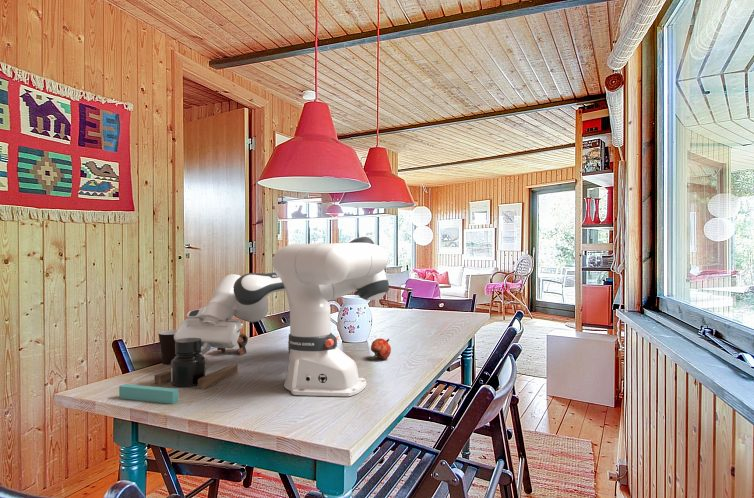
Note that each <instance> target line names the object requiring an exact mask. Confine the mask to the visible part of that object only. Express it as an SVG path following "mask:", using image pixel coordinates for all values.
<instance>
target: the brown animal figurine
mask: <svg viewBox="0 0 754 498" xmlns="http://www.w3.org/2000/svg"><path fill="white" fill-rule="evenodd" d="M248 339H249V338H248V336H247V334H245V333H242V334H241V333H240V334H239V338H238V341H237V344H238V345H237V346H238V348H239V349H238V350H237V352H238V354H239V356H243V355H244V354H246V353H247V348H246V346H247V344H248ZM216 349H217V351H221V353H224V352H225V351H226V349H227V348H216Z"/></svg>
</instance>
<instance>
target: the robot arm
mask: <svg viewBox="0 0 754 498" xmlns="http://www.w3.org/2000/svg"><path fill="white" fill-rule="evenodd" d="M388 258H389V257H388V253H387V251H386V250H385V248H383V246H380V245H378V244H376V243H375V242H374V241H373V240H372V238H370V237H367V236H361V237H356V238H354V239H353V240H351V241H348V242H338V243H336V242H335V243H293V244H289V245H286V246H283V247H281V248H279V249H278V250H277V251H276V252H275V254H274V256H273V259H272V267H273V271H274V272H269V273H257V272H249V273H246V274H243V275H239V274H234V273H231V274H227V275H225V276H224V277H223V278H222V279H221V280H220V281H219V282H218V284H217V286H216V287H215V289H214V291H213V292H212V293H211V294H212V295H211V298H210V300H209V301H208V302H207V303H206V305H205V306H203V307H201V308H197V309H193V310H190V311H188V312H187V313H186V316H185V317H186V318H185V319H184V320H183V321H181V323H180V325H179V326H178V327H177V329H176V330H177V331H176V333H175V335H174V340H175V341H176V340H178V339H183V338H201V353H200V354H202V356H204V355H206V353H208V352H209V351H210V350H211V348H216V349H217V348H225V349H233V348H235V347H236V345H237V344H238V343H237V341H238V338H239V335H241V333H240V332H241V330H242V329H243V326H244V323H243V321H245V322H248V323H257V322H260V321H261V320H263V319H264V318H265V317H266V316H267V314H268V312H269V299H268V296H269V295H270V294H272V293H277V292H283V291H285V293H286V296H287V302H288V305H289V326H290V327H289V328H290V330H289V332H290V333H289V334H288V344H287V345H288V353H289V358H288V359H289V360H288V366H287V374H286V377H285V381H284V384H283V386H284V388H285V389H286V390H288V391H290V392H291V394H292V395H294V396H311V397H312V396H313V397H314V396H315V397H317V396H318V397H319V396H320V397H350V396H351V397H352V396H355V395H357V394H359V393H361V392H362V391H363V390H364V389H366V387H367V380H366V378H364V377H359V371H358V366H357V363H356V361H355V360H354V359H353V358H351V357H350V356H349V355H348V354H346V353H345V352H343V350H341V349H340V348H339V347H338V341H339V340H340V339H339V335H336V336H335V335H334V334H333V333H332V332H331V305H330V303H329V302H330V301H333V300H336V299H338V298H339V299H340V298H341V297H344V296H347V295H348V294H350V293H352V292H354V293H353V295H355V296H358V297H359V298H361V299H363V300H366V301H376V300H379V299H382V297H384V296H385V295H386V294H388V292H389V290H390V283H389V280H388V278H387V275H386V270H385V269H386V268H387V265H388V261H389V259H388ZM233 317H236V319H233ZM237 318H238V319H237Z"/></svg>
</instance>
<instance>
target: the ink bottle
mask: <svg viewBox="0 0 754 498" xmlns="http://www.w3.org/2000/svg"><path fill="white" fill-rule="evenodd" d="M201 349H202V347H201V338H183V339H178V340H176V341H175V354H176V355H177V356H175V358H174V359H173V360H172V361H171V365H170V369H171V381H170V384H171V385H172V386H175V387H180V388H181V387H186V388H187V387H193V386H198V379H199V378H202V377H204V376H206V357H205V356H204V355H203V356H202V354H200V353H201Z"/></svg>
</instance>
